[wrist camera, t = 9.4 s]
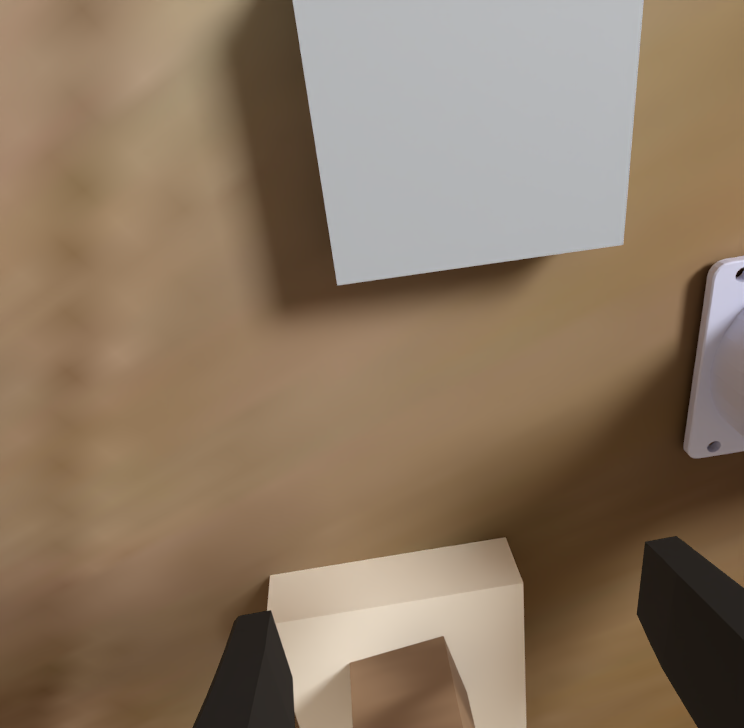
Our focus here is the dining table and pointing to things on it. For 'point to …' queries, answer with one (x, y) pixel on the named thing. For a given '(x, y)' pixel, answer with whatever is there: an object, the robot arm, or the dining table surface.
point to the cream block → (406, 626)
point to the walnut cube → (410, 689)
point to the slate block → (469, 128)
